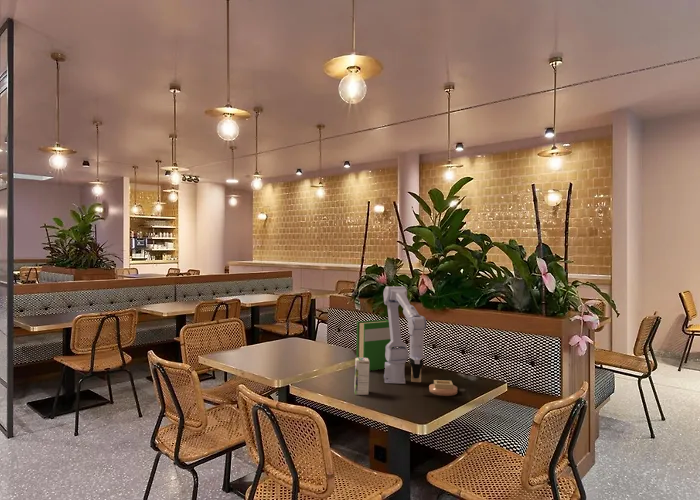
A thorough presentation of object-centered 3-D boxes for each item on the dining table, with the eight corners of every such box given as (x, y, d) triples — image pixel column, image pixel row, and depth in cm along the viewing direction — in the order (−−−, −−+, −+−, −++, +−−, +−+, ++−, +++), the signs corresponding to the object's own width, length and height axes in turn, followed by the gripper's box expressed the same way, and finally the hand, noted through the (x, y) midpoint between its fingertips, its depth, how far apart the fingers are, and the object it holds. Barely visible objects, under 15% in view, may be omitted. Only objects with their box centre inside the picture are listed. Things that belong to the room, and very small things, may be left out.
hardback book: (364, 371, 238) (364, 323, 238) (356, 368, 244) (357, 321, 244) (392, 367, 247) (393, 321, 247) (384, 364, 253) (385, 319, 253)
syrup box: (353, 391, 205) (354, 357, 205) (367, 390, 205) (368, 357, 205) (355, 395, 199) (355, 360, 199) (369, 395, 199) (369, 360, 199)
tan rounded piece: (430, 395, 201) (430, 385, 201) (428, 387, 212) (428, 378, 212) (459, 396, 199) (459, 386, 199) (455, 388, 211) (455, 379, 211)
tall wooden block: (411, 381, 201) (411, 367, 201) (411, 380, 203) (411, 366, 203) (421, 382, 201) (421, 367, 201) (420, 380, 203) (420, 366, 203)
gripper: (427, 349, 194) (426, 382, 195) (424, 342, 209) (424, 372, 209) (410, 348, 195) (409, 381, 195) (408, 341, 210) (408, 372, 210)
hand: (416, 377), depth 202 cm, fingers closed on tall wooden block, 2 cm apart
